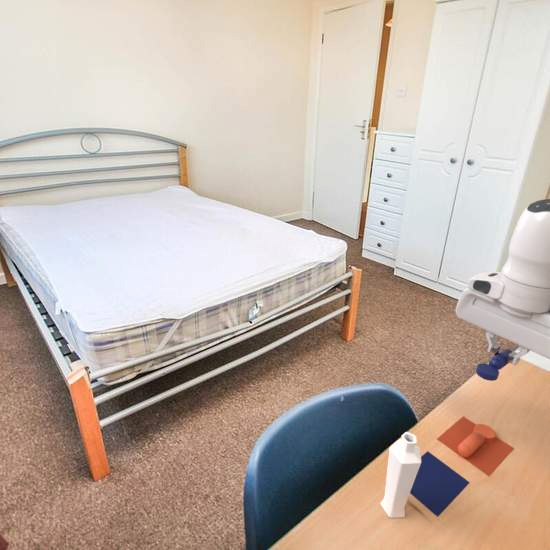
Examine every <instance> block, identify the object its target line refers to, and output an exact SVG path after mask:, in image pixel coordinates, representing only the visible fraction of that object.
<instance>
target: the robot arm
mask: <svg viewBox="0 0 550 550" xmlns="http://www.w3.org/2000/svg"><path fill="white" fill-rule="evenodd" d="M507 250H508V257H507V260H506V261H505V264H504V265H503V266H502V268H501V271H484V272H483V271H482V272H480V273H478V274H475V275H473V276H471V277H470V278H469V279H468V281H467V288H465V289H464V290H463V291H462V292H461V294H460V296H459V299H458V301H457V304H456V307H455V315H456V317H457V318H458V319H460V320H462V321H465V322H467V323H469V324H470V325H473V326H475V327H478V328H480V329H482V330H484V331H486V332H485V337H486V340H487V341H486V342H487V344H488V348H487V351H486V352H487V353H488V354H491V355H492V356H495V355H496V354H498V353H499V352H501V350H500V349H501V347H502V345H501V344H499V343H498V342H497V337H500V338H502V339H504V340H506V341H509V342H511V343H512V344H516V345H517V346H518V351H519V352H517V351H513V350H512V353H510V354H509V356H508V359H507V362H509V363H508V364H510V365H513V366H517V365H518V364H519V362H520V360H521V357H523V356H525V355H527V354H528V353H529V352H530V351H531V352H533V353H535V354H538V355H540V356H542V357H544V358H546V359H549V360H550V198H546V199H545V198H544V199H540V200H536V201H533V202H531V203H530V204H528V205H527V206H526V207H525V209H524V210H523V211H522V213H521V214H520V217H519V219H518V221H517V223H516V225H515V228H514V230H513V233H512V236H511V239H510V242H509V245H508V248H507ZM496 336H497V337H496Z"/></svg>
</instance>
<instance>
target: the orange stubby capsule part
mask: <svg viewBox="0 0 550 550" xmlns="http://www.w3.org/2000/svg"><path fill="white" fill-rule="evenodd" d="M494 437H496V432H495V430H494V429H493V428H491V426H489V425H487V424H484V423H476V425H475V427H474V430H473V432H472V433H471V434H470V435H469V436H468V437H467V438H466V439H465V440H464V441H463V442H461V443H460V444H459V446H458V452H459V454H460V455H461V456H463V457H469V456H471V455H472V454H473V453H474V452H475V451H476V450H477V449H478V448H479V447H480V446H481V445H482V444H483V443H484V442H486V443H490V442H492V441H493V440H494ZM460 455H459V456H460ZM461 456H460V457H461Z"/></svg>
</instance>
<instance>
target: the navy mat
mask: <svg viewBox="0 0 550 550" xmlns="http://www.w3.org/2000/svg"><path fill="white" fill-rule="evenodd" d="M469 484H470V481H469V480H467V479H466V478H465V477H463V476H462V475H461V474H459V473H458V472H457V471H455V470H454V469H452V468H451V467H450V466H449V465H447V464H446V463H445V462H443V461H442V460H441V459H439V458H438V457H436V456H435V455H433V453H432V452H430V451H428V450H427V451H426V452H425V453H424V454H422V455H421V465H420V467H419V470H418V472H417V475H416V478H415V480H414V483H413V486H412V488H411V491H410V494H409V495H412V497H414V498H415V499H416V500H417V501H418V502H419V503H420V504H421V505H423V506H424V507H425V508H426V509H428V510H429V511H430V512H431V513H432V514H434V516H435V517H437V518H438V517H439V516H440V515H441V514H442V513H443V512H444V511H445V510H446V509H447V508H448V507H449V505H451V504H452V502H453V501H454V500H455V499H456V498H457V497H458V496H459V495H460V494H461V493H462V492H463V491H464V490H465V489H466V487H468V485H469Z"/></svg>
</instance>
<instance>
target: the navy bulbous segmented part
mask: <svg viewBox="0 0 550 550" xmlns="http://www.w3.org/2000/svg"><path fill="white" fill-rule="evenodd" d="M512 352H513V350H511V349H509V348H504V349H502V350H500V351H499V353H498V354H496V355H493V356H492V357H491V358H490V359H488V363H484V362H482V363H478V364H477V366H476V369H475V373H476V375H477V376H478V377H480V378H481V379H483V380H486V381H491V382H493V381H497V380H498V378H499V375H500V370H502V369H503V368H505V367H506V366H508V364H510V363H509V362H507V359H508V356H509V354H510V353H512Z"/></svg>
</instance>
